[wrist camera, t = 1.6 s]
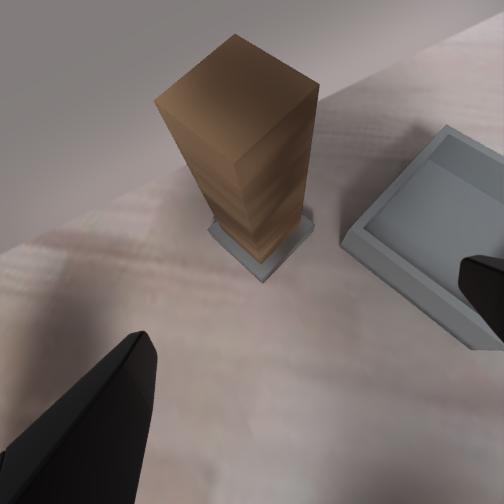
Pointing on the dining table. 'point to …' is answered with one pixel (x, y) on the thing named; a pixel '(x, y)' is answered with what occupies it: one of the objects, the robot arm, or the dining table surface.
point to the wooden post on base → (247, 148)
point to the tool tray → (437, 231)
